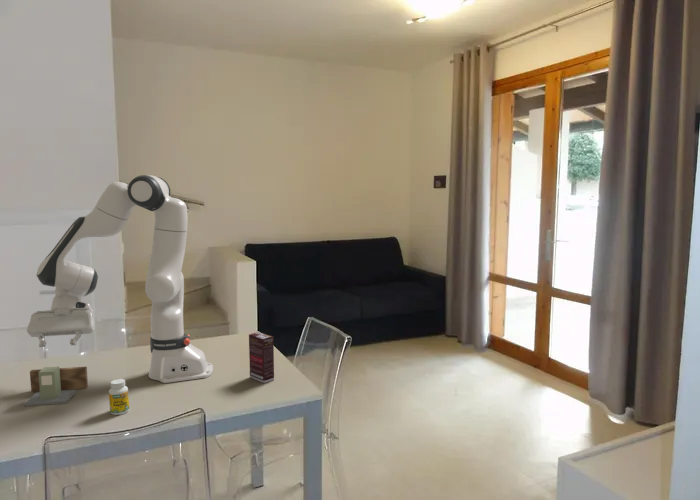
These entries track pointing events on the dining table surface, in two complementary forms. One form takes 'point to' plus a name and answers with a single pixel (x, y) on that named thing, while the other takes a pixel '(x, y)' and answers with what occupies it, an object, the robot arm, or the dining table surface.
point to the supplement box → (261, 357)
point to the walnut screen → (64, 378)
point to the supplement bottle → (118, 397)
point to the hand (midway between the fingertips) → (57, 345)
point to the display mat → (60, 399)
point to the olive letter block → (49, 383)
